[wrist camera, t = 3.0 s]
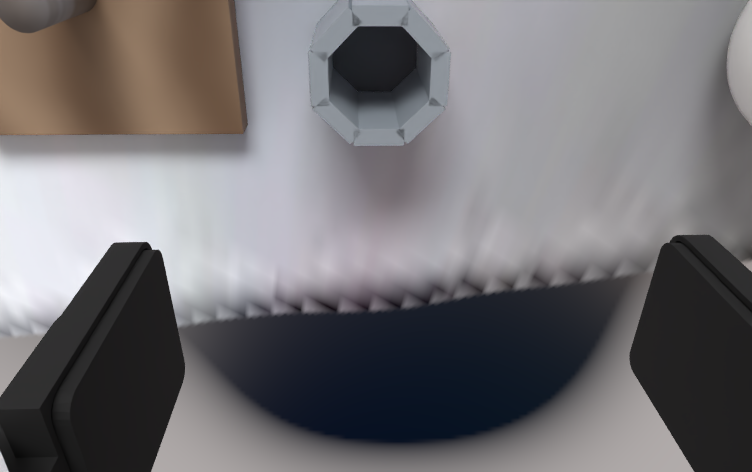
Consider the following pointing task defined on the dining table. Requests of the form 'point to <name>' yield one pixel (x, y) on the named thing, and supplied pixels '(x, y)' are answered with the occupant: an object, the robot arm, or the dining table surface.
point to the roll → (378, 109)
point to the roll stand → (120, 67)
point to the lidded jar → (741, 62)
